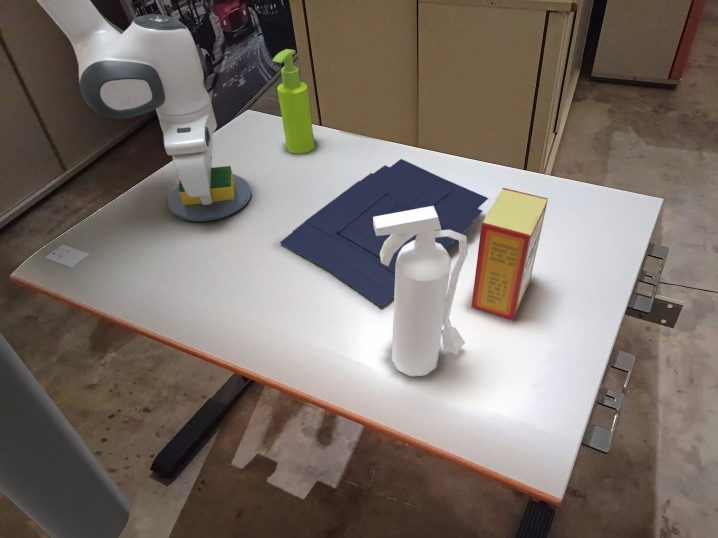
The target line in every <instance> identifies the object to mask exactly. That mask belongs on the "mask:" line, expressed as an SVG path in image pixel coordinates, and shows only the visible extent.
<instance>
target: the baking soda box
mask: <svg viewBox="0 0 718 538" xmlns="http://www.w3.org/2000/svg"><path fill="white" fill-rule="evenodd" d="M548 202H549V198H547V197H543V196H539V195H535V194H532V193H527V192H522V191H518V190H515V189H511V188H506V187H502V189H500V192H499V194H498V195H497V197H496V199H495V201H494V203H493V204H492V206H490V209H489V211H488V212H487V214H486V216H485V217H484V219H483V221H482V222H481V225H480V235H479V240H478V250H477V258H476V267H475V274H474V281H473V282H474V283H473V289H472V298H471V299H472V300H471V305H470V308H472V309H475V310H478V311H481V312H485V313H488V314H492V315H495V316H497V317H501V318H504V319H507V320H510V321H514V318H515V317H516V315H517V312H518V309H519V307H520V305H521V303H522V301H523V298H524V296H525V294H526V291H527V289H528V287H529V285H530V283H531V278H532V275H533V269H534V265H535V260H536V257H537V251H538V247H539V243H540V239H541V233H542V228H543V224H544V220H545V215H546V210H547V206H548Z"/></svg>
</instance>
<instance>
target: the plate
mask: <svg viewBox="0 0 718 538" xmlns="http://www.w3.org/2000/svg"><path fill="white" fill-rule="evenodd" d="M232 174H233V173H232ZM233 178H234V199H233V200H225V201H217V202H212V204H208V205H203V204H202V203H200V204H191V205H184V204H183V201H182V198H181V195H180V192H179V184H177V185H175V187H174V188H173V189H172V190H171V191H170V192H169V194H168V197H167V205H168V208H169V210H170V212H171V213H172V214H173V215H175V216H176V217H177V218H179V219H183V220H187V221H191V222H208V221H215V220H220V219H223V218H226V217H229V216H231V215H233V214H235V213H236V212H238V211H240V210H241V209H242V208H244V206H245V205H246V204H247V203H248V202H249V200H250V198H251V194H252V191H251V187H250V184H249V183H248V182H247V180H246V179H245V178H243V177H242V176H240V175H236V174H233Z"/></svg>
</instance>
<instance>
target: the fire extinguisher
mask: <svg viewBox="0 0 718 538" xmlns="http://www.w3.org/2000/svg"><path fill="white" fill-rule="evenodd" d="M373 226H374V229H375V233H376V236H380V235H390V236H389V238H388V239H387V240H386V241H385V242H384V244H383V246H382V249H381V251H380V259H381V263H382V264H384V265H386V266H388V265H389V263H390V261H391V259H392V257H393V255H394V253H395V252H396V251H397V250H398V249H399V248H400V247H401V246H402V245H403V244H404V243H405V242H406V241H407V240H409V239H410V238H412V237H413V236H414V235H416V234H417V235H416V239H415V240H413V241H411V242H410V243H408V244H406V245H405V246H403V247H402V249H401V250H400V252H399V254H398V257H397V261H396V266H395V291H394V297H393V299H394V300H393V316H392V319H393V321H392V343H391V344H392V345H391V361H392V364H394V366H395V368H396V370H397V371H399V372H401V373H403V374H405V375H406V376H408V377H424V376H427V375H428V374H430V373H431V372H433V371H434V370H435V369H436V368H437V366H438V361H439V354H440V346H441V340H442V346H443V347H442V348H443V350H444V351H446V352H449V353H452V354H454V355H457V354H458V353H459V352H460V350H461V349H462V348H463V346H464V345H465V343H466V342H465V340H464V339H463V336H462V335H461V334H460V332H459V331H458V329H457V328H456V327H455V326H452V323H451V320H450V316H451V310H452V307H453V301H454V297H455V293H456V289H457V284H458V280H459V276H460V273H461V270H462V268H463V265H464V263H465V261H466V258H467V256H468V237H467V235H464V234H460V233H457V232H455V231H452V230H441V226H440V223H439V219H438V216H437V213H436V211H435V208H434V206H430V207H424V208H419V209H413V210H408V211H403V212H397V213H392V214H386V215H381V216H375V217H373ZM434 230H439V231H434ZM437 237H450V238H453V239H456V240H455V241H458V257H457V260H456V262H455V265H454V267H453V268H452V272H451V265H452V259H451V256H450V254H449V252H448V251H447V249H444V247H443V246H442V245H441V244H439V243H436V242H435V238H437ZM450 274H451V275H450Z"/></svg>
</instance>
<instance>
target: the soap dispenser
mask: <svg viewBox="0 0 718 538" xmlns="http://www.w3.org/2000/svg"><path fill="white" fill-rule="evenodd" d="M295 54H296V50H295V49H289V48H285V49H283V50H282V51H279V52H278V53H277V54H276V55H275V56H274V57H273V59H272V60H271V61H272V62H273V63H276V64H283V63H284V66H283V67H281V69H280V74H281V80H282V83H280V84H279V85H278V86H277V87H276V90H277V96H278V103H279V107H280V112H281V113H280V114H281V118H282V119H281V121H282V126H283V131H284V132H283V133H284V138H285V144H286V149H287V151H288V152H289V153H291V154H297V155H301V154H307V153H310V152H311V151H312V150H314V149H315V147H316V145H315V137H314V131H313V122H312V114H311V107H310V98H309V89H308V84H307V83H306V82H303V81H301V77H300V69H299V67H298V66H296V65H294V59H293V56H294V55H295Z"/></svg>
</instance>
